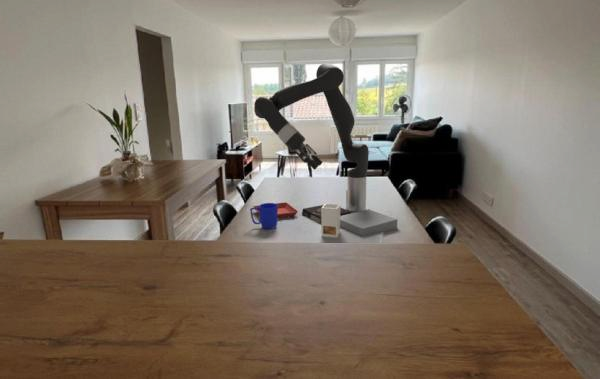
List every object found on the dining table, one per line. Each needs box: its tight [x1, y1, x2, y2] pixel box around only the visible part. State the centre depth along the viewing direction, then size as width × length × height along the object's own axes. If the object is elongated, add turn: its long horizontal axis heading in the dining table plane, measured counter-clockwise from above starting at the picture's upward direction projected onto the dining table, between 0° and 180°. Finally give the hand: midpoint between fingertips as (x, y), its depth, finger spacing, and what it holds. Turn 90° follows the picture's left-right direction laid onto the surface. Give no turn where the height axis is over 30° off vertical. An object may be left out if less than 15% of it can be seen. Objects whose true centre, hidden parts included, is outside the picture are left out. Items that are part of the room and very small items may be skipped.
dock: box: [340, 209, 398, 237], centre depth 163 cm, size 18×20×4 cm
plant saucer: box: [252, 202, 299, 220], centre depth 184 cm, size 18×18×3 cm
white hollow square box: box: [321, 203, 341, 239], centre depth 152 cm, size 6×6×13 cm
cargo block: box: [325, 226, 336, 235], centre depth 153 cm, size 4×4×4 cm
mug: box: [249, 202, 278, 230], centre depth 165 cm, size 8×12×10 cm
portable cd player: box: [301, 204, 352, 224], centre depth 177 cm, size 16×17×4 cm
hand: (318, 166), depth 151 cm, fingers open, 8 cm apart
